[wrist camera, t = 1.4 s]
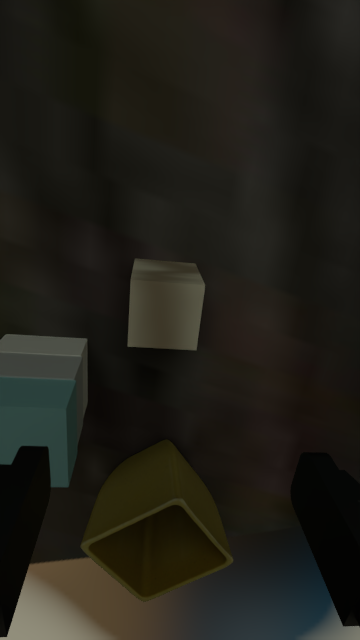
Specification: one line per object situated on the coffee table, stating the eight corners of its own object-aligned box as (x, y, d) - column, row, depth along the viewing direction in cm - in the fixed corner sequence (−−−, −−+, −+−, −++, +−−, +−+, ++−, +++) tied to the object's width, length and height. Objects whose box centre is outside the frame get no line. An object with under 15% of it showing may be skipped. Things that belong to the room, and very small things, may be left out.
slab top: (76, 380, 23) (66, 408, 20) (77, 453, 26) (68, 487, 23) (-25, 375, 22) (-50, 404, 20) (-14, 451, 25) (-34, 485, 22)
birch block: (195, 263, 26) (205, 285, 21) (188, 318, 28) (196, 350, 23) (135, 258, 26) (130, 279, 21) (132, 314, 28) (127, 346, 23)
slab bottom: (87, 337, 28) (80, 355, 26) (88, 401, 31) (81, 423, 28) (6, 333, 28) (-10, 350, 25) (13, 398, 30) (-1, 421, 27)
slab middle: (82, 356, 26) (74, 378, 23) (83, 424, 28) (75, 451, 26) (-8, 351, 25) (-27, 373, 22) (1, 421, 28) (-16, 449, 25)
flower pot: (95, 454, 33) (76, 548, 25) (172, 414, 32) (179, 498, 24) (144, 506, 37) (142, 604, 28) (216, 471, 35) (236, 563, 27)
